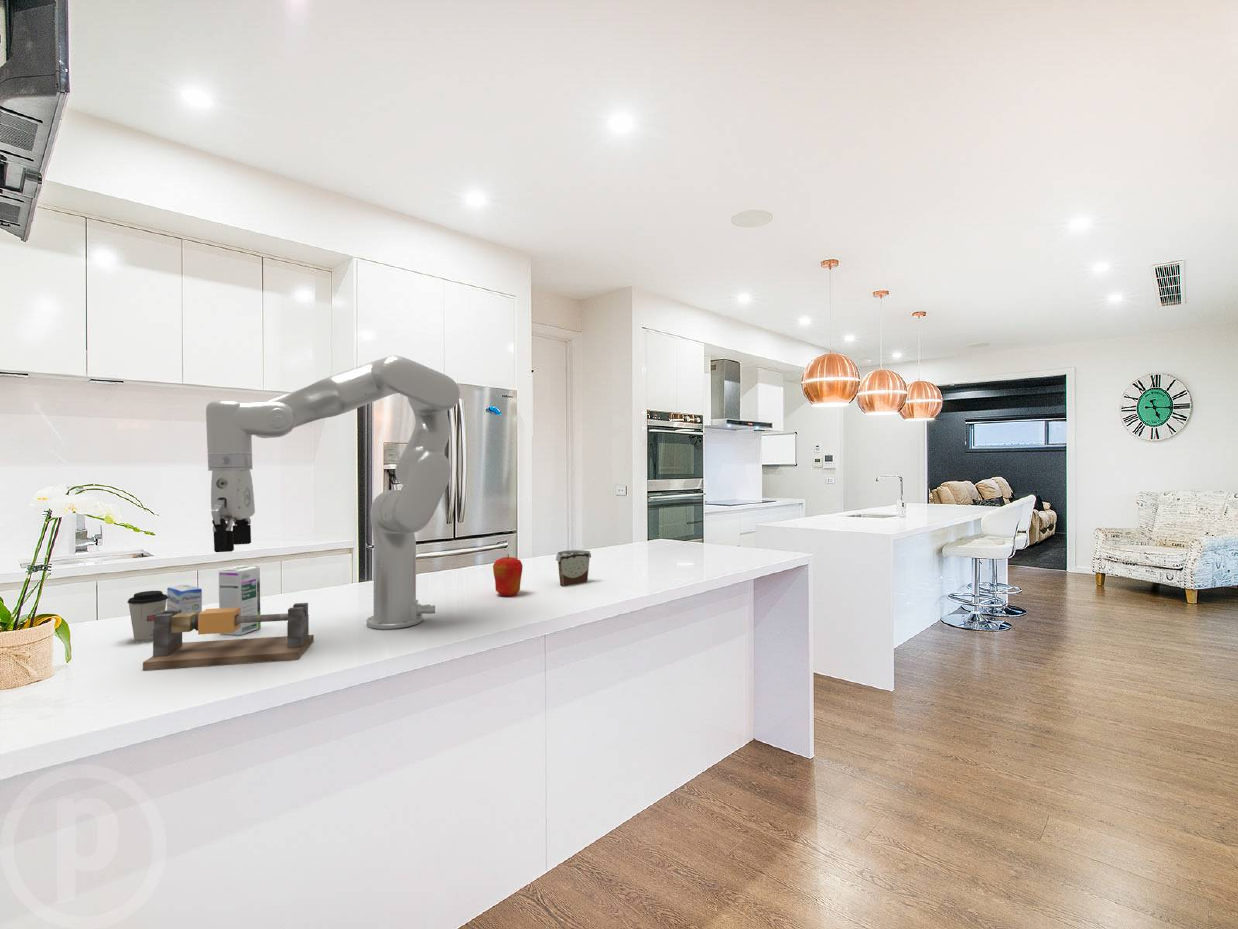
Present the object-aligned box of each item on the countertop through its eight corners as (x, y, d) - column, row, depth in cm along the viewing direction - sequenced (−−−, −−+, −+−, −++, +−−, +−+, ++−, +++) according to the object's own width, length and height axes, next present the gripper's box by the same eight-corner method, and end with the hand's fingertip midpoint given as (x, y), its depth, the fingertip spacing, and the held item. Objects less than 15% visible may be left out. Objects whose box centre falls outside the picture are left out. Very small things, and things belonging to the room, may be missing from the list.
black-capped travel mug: (118, 643, 127) (118, 596, 127) (148, 634, 134) (148, 589, 134) (147, 645, 126) (147, 597, 126) (176, 635, 133) (176, 590, 133)
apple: (488, 593, 175) (488, 553, 175) (515, 590, 180) (515, 550, 180) (499, 599, 168) (499, 557, 168) (527, 595, 173) (527, 554, 173)
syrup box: (240, 636, 133) (240, 570, 133) (218, 634, 134) (218, 569, 134) (261, 629, 138) (261, 565, 138) (239, 627, 139) (239, 564, 139)
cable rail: (313, 641, 129) (313, 599, 129) (298, 659, 117) (298, 613, 117) (173, 650, 122) (173, 605, 122) (142, 670, 111) (142, 621, 111)
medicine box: (166, 623, 142) (166, 587, 142) (187, 619, 146) (187, 584, 146) (180, 629, 138) (180, 591, 138) (202, 624, 142) (202, 587, 142)
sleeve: (240, 627, 122) (240, 607, 122) (233, 632, 118) (233, 612, 118) (206, 629, 120) (206, 609, 120) (198, 634, 116) (198, 614, 116)
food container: (579, 579, 197) (579, 548, 197) (591, 582, 192) (591, 551, 192) (548, 584, 189) (548, 552, 189) (559, 587, 184) (559, 554, 184)
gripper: (235, 463, 114) (239, 553, 114) (265, 461, 130) (267, 540, 131) (190, 464, 112) (193, 556, 112) (225, 462, 128) (228, 542, 129)
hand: (233, 547), depth 121 cm, fingers open, 9 cm apart
